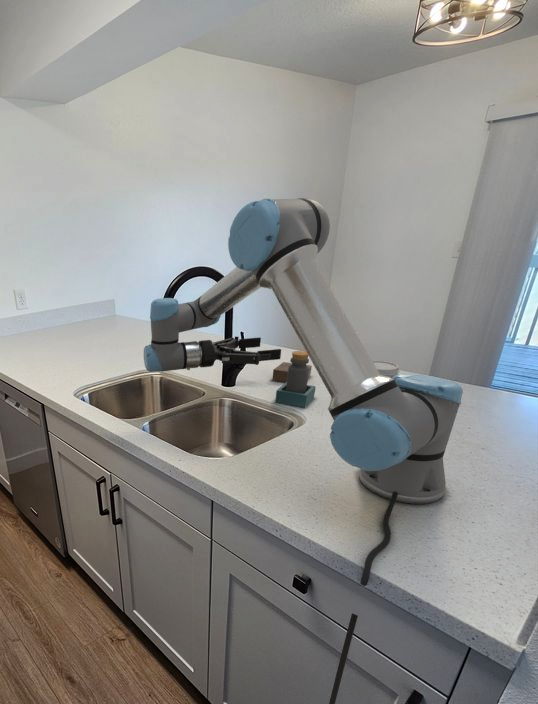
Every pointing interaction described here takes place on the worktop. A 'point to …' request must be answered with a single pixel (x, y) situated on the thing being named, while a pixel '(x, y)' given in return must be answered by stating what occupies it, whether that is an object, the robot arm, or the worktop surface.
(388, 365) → the disposable coffee cup
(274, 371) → the stand
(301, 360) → the bottle
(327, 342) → the robot arm
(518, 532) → the worktop surface
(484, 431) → the worktop surface
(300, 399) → the holder
